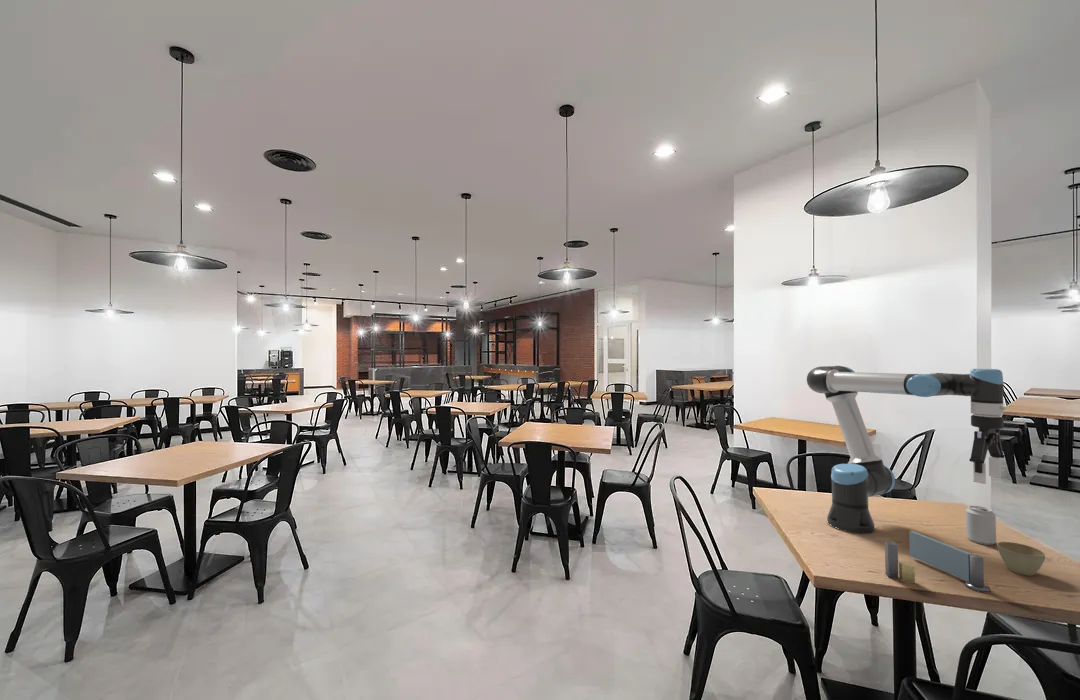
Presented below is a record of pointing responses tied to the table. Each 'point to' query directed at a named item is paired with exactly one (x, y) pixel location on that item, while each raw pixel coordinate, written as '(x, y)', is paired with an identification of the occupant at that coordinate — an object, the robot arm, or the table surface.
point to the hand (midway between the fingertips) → (987, 479)
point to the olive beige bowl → (1021, 557)
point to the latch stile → (892, 564)
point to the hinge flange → (980, 589)
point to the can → (981, 525)
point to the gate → (947, 558)
